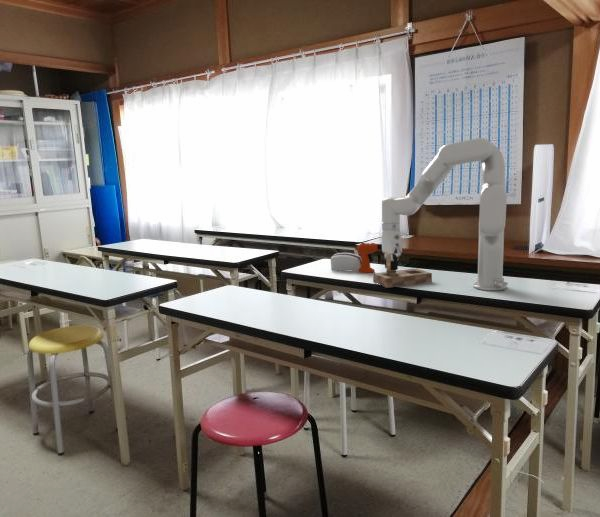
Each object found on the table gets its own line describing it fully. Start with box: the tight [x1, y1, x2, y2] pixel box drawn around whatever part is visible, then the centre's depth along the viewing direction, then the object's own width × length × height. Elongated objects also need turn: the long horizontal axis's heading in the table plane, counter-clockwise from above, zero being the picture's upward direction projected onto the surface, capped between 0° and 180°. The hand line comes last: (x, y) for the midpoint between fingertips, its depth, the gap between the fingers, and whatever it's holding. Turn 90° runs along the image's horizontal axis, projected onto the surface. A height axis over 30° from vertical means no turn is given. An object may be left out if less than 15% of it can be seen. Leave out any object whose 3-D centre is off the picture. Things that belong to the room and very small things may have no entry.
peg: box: [385, 252, 397, 276], centre depth 225 cm, size 4×4×14 cm
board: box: [372, 268, 433, 289], centre depth 228 cm, size 12×22×4 cm, turn 110°
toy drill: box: [356, 242, 382, 274], centre depth 249 cm, size 5×19×15 cm, turn 77°
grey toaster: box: [330, 252, 362, 272], centre depth 258 cm, size 17×5×10 cm, turn 62°
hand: (391, 268), depth 225 cm, fingers closed on peg, 4 cm apart
